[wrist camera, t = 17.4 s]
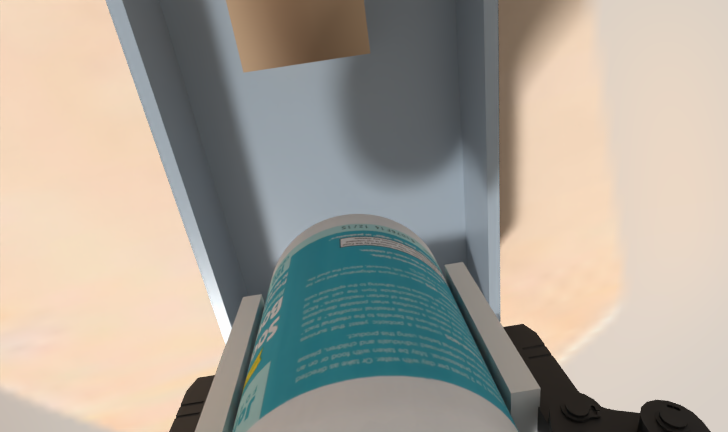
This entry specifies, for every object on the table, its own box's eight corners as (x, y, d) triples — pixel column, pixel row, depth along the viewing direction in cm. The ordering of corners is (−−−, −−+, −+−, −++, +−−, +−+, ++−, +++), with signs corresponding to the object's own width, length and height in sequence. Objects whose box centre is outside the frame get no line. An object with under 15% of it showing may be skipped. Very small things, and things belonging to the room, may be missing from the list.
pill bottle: (256, 221, 17) (36, 715, 4) (431, 195, 17) (708, 602, 4) (291, 359, 20) (221, 895, 7) (440, 336, 20) (624, 823, 7)
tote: (75, -242, 16) (-15, -345, 12) (453, -295, 16) (495, -413, 12) (248, 315, 27) (232, 365, 22) (474, 279, 27) (500, 321, 23)
